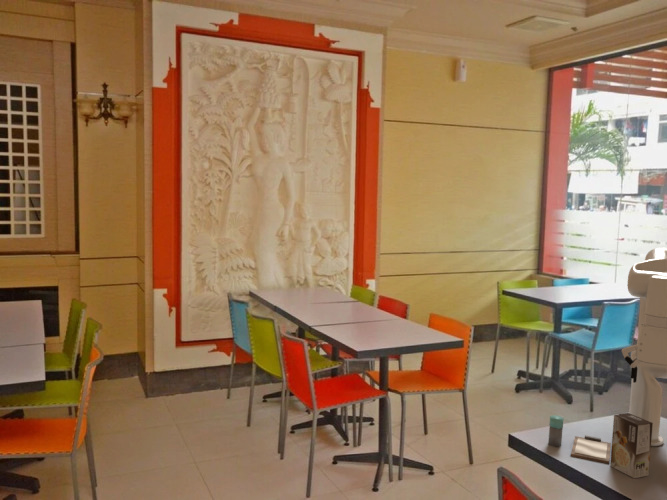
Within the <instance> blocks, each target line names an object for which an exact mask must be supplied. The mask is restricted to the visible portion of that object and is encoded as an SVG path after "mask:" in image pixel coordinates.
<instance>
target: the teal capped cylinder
mask: <svg viewBox="0 0 667 500" xmlns="http://www.w3.org/2000/svg"><path fill="white" fill-rule="evenodd" d="M563 428H564V417H562V416H561V415H556V414H555V415H550V416H549V430H548V445H549V446H551V447H553V448H554V447H555V448H560V447H562V442H563V440H562V438H563Z"/></svg>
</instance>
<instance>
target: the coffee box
mask: <svg viewBox="0 0 667 500" xmlns="http://www.w3.org/2000/svg"><path fill="white" fill-rule="evenodd" d="M612 421H613V424H612V439H611V448H610V461H609V466H610V467H611V468H613V469H616V470H618V471H619V472H621V473H623V474H625V475H627V476H629V477H631V478H633V479H639V478H644V477H648V476H649V473H650V461H651V460H650V459H651V449H652V446H651V438H652V426H653V423H652V422H649V421H647V420H644V419H642V418H640V417H637V416H635V415H632V414H630V413H629V412H624V413H618V414H614V415H613V420H612Z"/></svg>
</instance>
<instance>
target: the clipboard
mask: <svg viewBox="0 0 667 500" xmlns="http://www.w3.org/2000/svg"><path fill="white" fill-rule="evenodd" d="M572 443H573V444H572V448H571V452H570V457H574V458H578V459H584V460H589V461H594V462H598V463H605V464H608V465H610V460H611V449H612V442H607V441H602V438H601V437H596V436H590V435H584V437H583V436H582V437H580V436H577V435H576V436H574V439H573V442H572Z"/></svg>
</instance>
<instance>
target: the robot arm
mask: <svg viewBox="0 0 667 500" xmlns="http://www.w3.org/2000/svg"><path fill="white" fill-rule="evenodd" d="M626 284H627V289H628V290H627V291H628V293H629V294H630V295H631V296H632V297H636V298H639V301H640V302H639V314H638V325H637V326H638V327H637V333H638V334H637V341H636V344H633V345H630V346H627V347H624V348H622V349H621V353H622V356H623V357H624V360H625V361H626V363H627V364H628V365H629V366H630V368H631V370H630V379H631V385H630V397H629V399H630V400H629V407H628V408H629V411H628V413H630V414H632V415H635V416H637V417H640V418H642V419H644V420H647V421H649V422H652V423H653V426H652V438H651V447H658V446H662V445H663V444H664V438H663V437H662V436H661V435H660V427H661V425H660V424H661V416H662V415H661V414H662V406H663V405H662V404H663V393H664V391H663V388H662V386H661V384H660V383H659V381H658V380H657V379H656V378H659V379H660V378H661V379H667V247H656V248H653V249H651V250H650V251H648V253H647V254H646V255H645V258H644V261H641V262H638V263H637V262H636V263H635V264H633V265H632V266H631V268H630V269H629V272H628V275H627V283H626ZM629 353H631V356H630V355H629Z"/></svg>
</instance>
